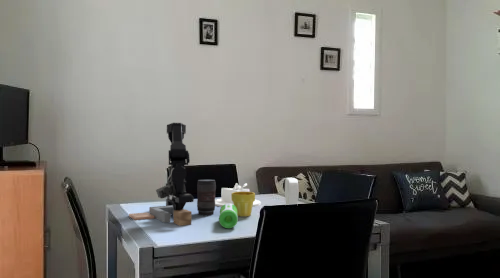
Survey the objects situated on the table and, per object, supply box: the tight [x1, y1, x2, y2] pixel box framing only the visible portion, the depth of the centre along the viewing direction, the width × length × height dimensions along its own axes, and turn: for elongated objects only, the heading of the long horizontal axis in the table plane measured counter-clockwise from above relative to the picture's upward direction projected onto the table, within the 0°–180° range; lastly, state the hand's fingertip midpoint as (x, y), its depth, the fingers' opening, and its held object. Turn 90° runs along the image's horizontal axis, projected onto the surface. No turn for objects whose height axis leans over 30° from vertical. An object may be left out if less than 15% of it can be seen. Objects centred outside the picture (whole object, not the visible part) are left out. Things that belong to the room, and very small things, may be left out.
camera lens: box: [196, 179, 217, 216], centre depth 201 cm, size 8×8×15 cm
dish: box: [215, 182, 262, 208], centre depth 230 cm, size 25×25×11 cm
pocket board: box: [148, 205, 174, 224], centre depth 191 cm, size 11×18×4 cm, turn 31°
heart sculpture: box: [284, 177, 300, 206], centre depth 184 cm, size 16×5×18 cm, turn 2°
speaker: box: [218, 203, 239, 229], centre depth 179 cm, size 18×7×8 cm, turn 2°
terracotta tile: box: [128, 211, 155, 221], centre depth 191 cm, size 8×9×1 cm
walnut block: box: [173, 208, 192, 227], centre depth 179 cm, size 5×6×5 cm
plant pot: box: [231, 191, 256, 218], centre depth 199 cm, size 10×10×10 cm
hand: (177, 217), depth 183 cm, fingers closed
